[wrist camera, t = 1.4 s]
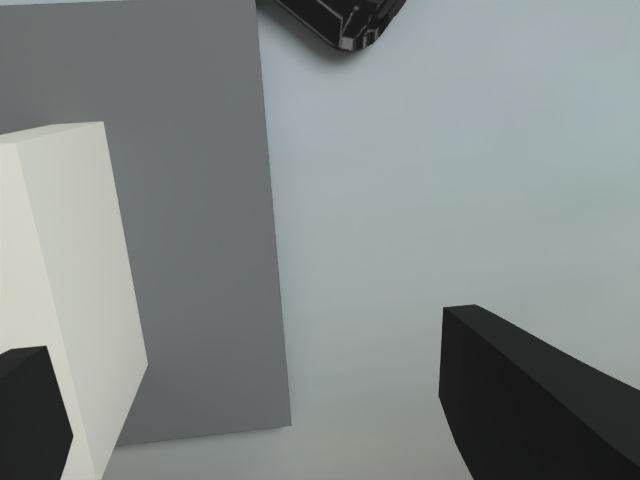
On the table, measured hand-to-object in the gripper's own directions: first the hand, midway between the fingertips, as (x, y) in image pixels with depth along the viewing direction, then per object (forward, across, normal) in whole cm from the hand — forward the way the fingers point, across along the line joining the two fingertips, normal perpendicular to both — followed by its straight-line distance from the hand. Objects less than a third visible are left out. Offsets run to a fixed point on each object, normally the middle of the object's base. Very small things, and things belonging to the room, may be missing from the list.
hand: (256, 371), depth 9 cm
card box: (+9, +6, +1) cm, 11 cm away
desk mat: (+10, +6, +1) cm, 12 cm away
